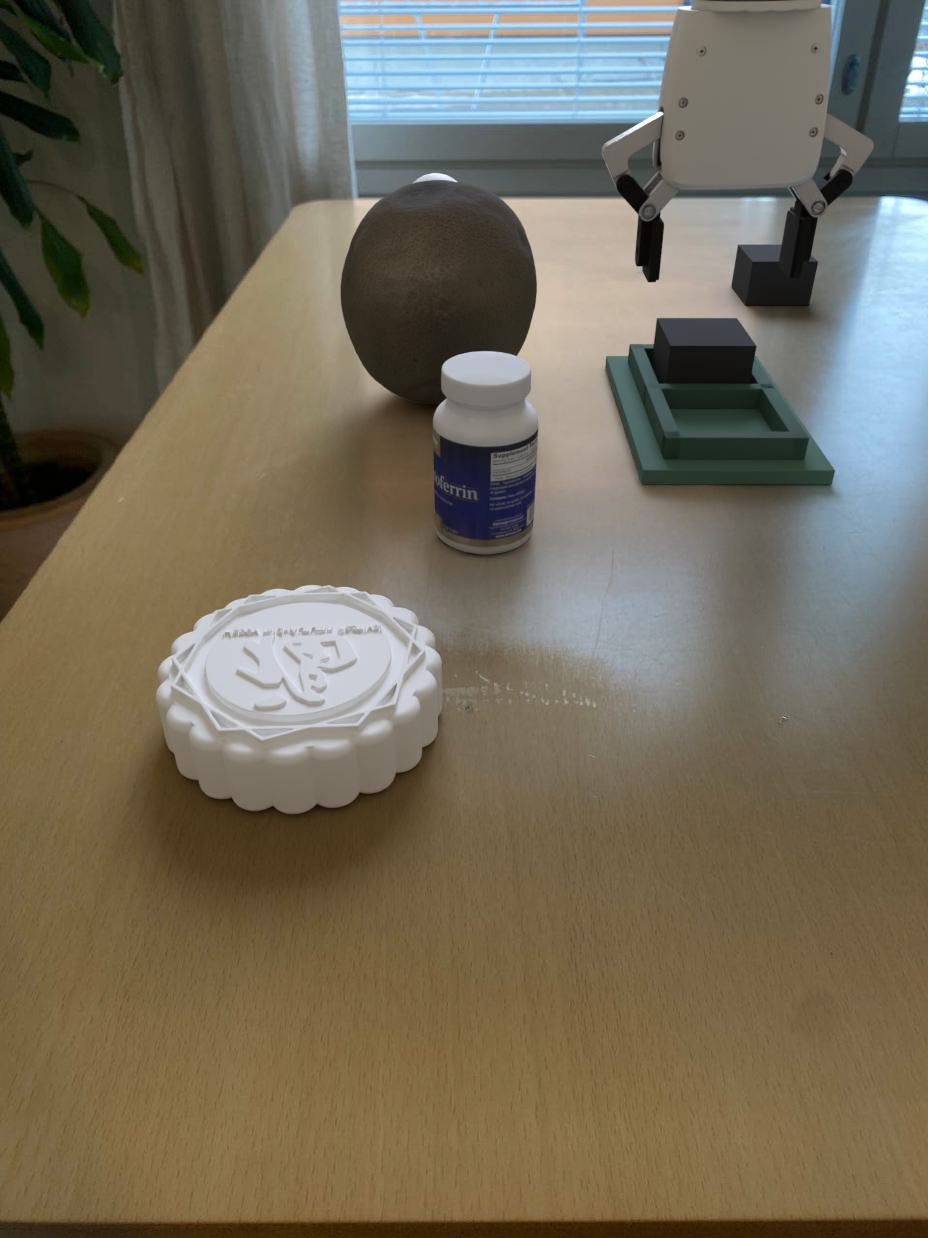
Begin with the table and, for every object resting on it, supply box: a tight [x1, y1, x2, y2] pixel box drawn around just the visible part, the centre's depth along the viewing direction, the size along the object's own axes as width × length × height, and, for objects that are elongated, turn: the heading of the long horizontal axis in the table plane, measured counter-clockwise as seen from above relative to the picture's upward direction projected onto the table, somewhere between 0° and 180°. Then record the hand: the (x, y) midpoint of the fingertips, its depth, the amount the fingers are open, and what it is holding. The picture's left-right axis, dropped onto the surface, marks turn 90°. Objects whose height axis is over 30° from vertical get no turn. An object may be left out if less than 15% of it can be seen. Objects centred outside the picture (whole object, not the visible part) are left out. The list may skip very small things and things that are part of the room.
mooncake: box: [155, 584, 443, 815], centre depth 41 cm, size 12×12×4 cm
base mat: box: [604, 343, 836, 485], centre depth 67 cm, size 12×20×2 cm, turn 0°
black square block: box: [651, 317, 758, 384], centre depth 69 cm, size 6×6×4 cm
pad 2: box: [730, 244, 819, 306], centre depth 90 cm, size 6×6×4 cm
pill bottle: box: [432, 351, 539, 555], centre depth 52 cm, size 6×6×10 cm
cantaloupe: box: [340, 180, 538, 405], centre depth 66 cm, size 14×14×15 cm
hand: (719, 274), depth 66 cm, fingers open, 9 cm apart
